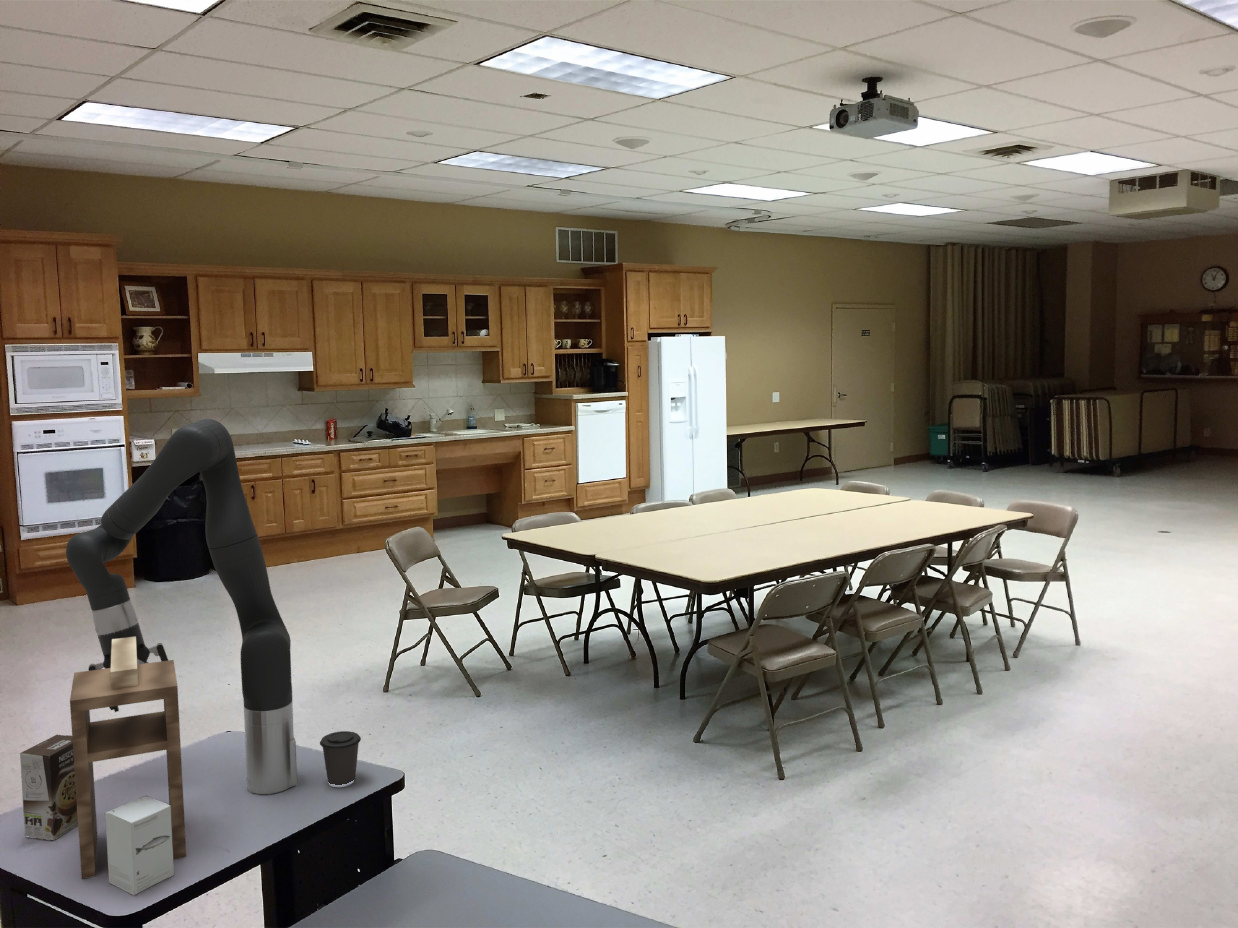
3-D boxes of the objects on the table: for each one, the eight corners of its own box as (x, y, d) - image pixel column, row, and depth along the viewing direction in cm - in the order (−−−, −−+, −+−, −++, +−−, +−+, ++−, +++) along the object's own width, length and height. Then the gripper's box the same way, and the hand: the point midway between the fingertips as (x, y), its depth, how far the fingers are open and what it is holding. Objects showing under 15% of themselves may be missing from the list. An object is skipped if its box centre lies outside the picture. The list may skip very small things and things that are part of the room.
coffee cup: (326, 794, 192) (324, 746, 191) (317, 778, 199) (315, 731, 198) (366, 785, 196) (365, 738, 195) (356, 769, 203) (355, 724, 202)
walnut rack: (181, 818, 182) (173, 659, 178) (186, 856, 168) (177, 685, 165) (84, 837, 174) (74, 672, 171) (81, 878, 161) (69, 700, 157)
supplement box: (133, 896, 156) (129, 823, 155) (107, 883, 160) (103, 811, 159) (175, 875, 162) (172, 804, 161) (149, 862, 166) (145, 793, 165)
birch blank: (136, 651, 182) (135, 636, 182) (138, 685, 164) (137, 668, 164) (112, 654, 180) (111, 639, 180) (111, 689, 163) (110, 671, 162)
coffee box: (54, 841, 173) (48, 755, 171) (23, 837, 174) (17, 752, 172) (91, 817, 182) (86, 735, 180) (62, 813, 183) (56, 732, 181)
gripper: (155, 612, 199) (176, 687, 201) (78, 635, 192) (101, 711, 194) (156, 618, 192) (178, 694, 194) (76, 641, 186) (100, 720, 188)
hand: (139, 703), depth 194 cm, fingers open, 8 cm apart
